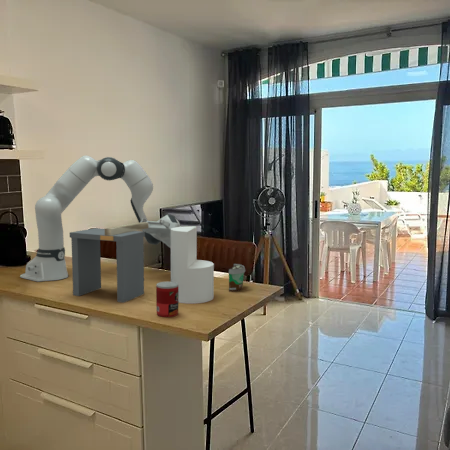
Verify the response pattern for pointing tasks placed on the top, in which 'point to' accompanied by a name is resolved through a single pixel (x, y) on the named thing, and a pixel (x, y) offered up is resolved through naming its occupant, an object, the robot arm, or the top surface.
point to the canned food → (167, 299)
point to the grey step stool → (91, 262)
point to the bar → (126, 228)
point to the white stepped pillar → (190, 267)
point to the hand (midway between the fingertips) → (151, 220)
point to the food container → (236, 278)
